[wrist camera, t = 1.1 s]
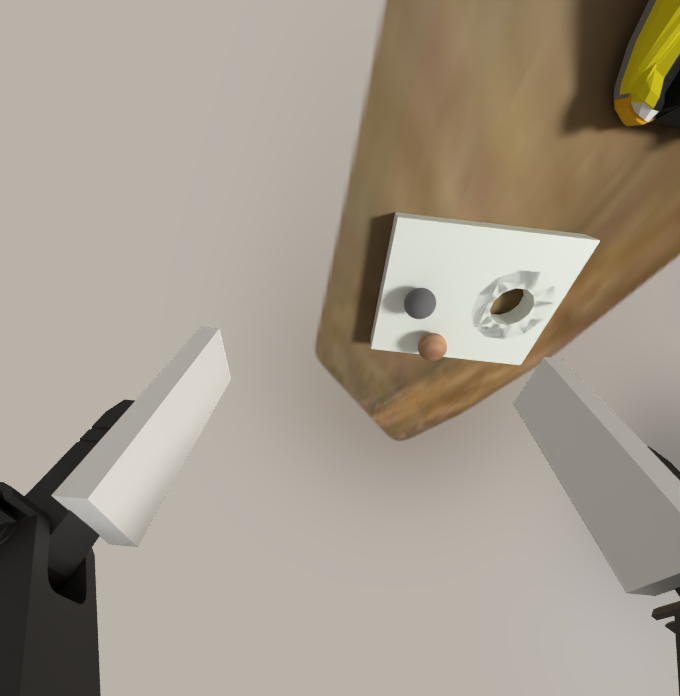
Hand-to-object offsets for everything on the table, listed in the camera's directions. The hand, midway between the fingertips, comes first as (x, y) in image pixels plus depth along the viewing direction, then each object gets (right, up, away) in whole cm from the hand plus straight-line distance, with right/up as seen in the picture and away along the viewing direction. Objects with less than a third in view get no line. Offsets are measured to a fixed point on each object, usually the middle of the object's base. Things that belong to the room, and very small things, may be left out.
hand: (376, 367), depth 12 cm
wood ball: (+10, +1, +21) cm, 24 cm away
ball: (+7, +6, +18) cm, 20 cm away
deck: (+13, +8, +22) cm, 27 cm away
